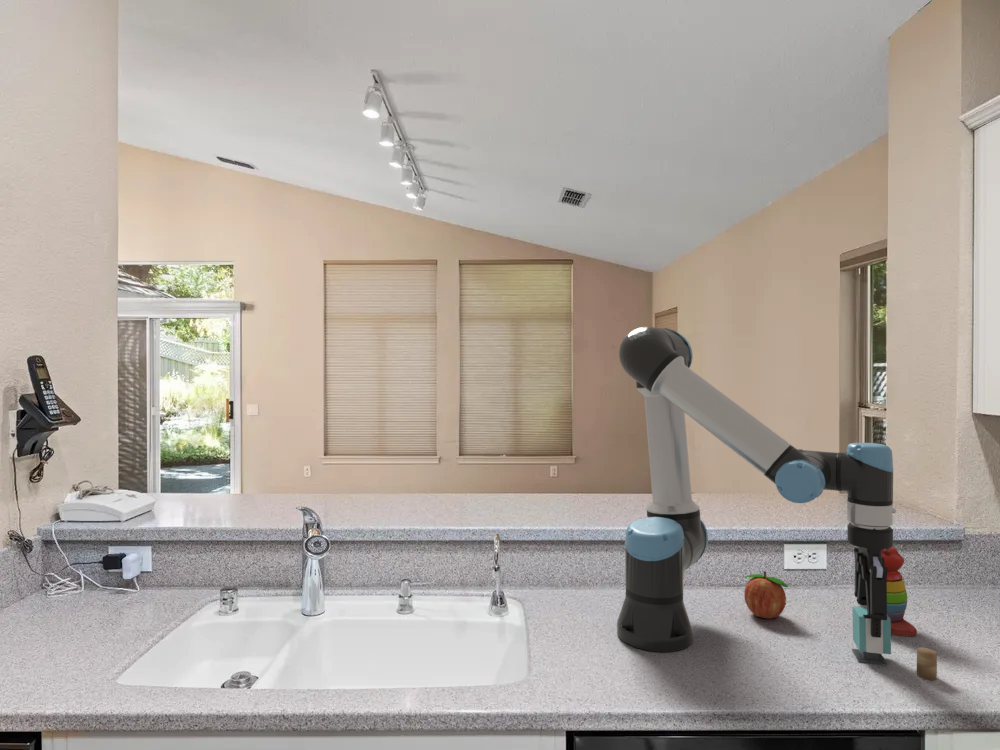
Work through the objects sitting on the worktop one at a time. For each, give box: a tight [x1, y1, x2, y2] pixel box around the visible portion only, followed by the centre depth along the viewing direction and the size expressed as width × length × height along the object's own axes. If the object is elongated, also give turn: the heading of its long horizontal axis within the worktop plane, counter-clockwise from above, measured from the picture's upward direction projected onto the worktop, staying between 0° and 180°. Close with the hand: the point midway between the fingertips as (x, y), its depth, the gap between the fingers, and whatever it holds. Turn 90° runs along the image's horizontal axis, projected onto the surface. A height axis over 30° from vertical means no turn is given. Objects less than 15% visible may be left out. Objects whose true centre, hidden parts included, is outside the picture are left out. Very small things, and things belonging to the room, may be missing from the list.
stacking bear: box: [857, 545, 918, 637], centre depth 135 cm, size 11×10×18 cm
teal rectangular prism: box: [851, 605, 892, 655], centre depth 120 cm, size 5×5×7 cm
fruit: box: [743, 570, 789, 619], centre depth 140 cm, size 9×10×10 cm
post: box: [851, 648, 888, 666], centre depth 120 cm, size 5×5×7 cm
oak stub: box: [916, 647, 938, 681], centre depth 113 cm, size 3×3×4 cm
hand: (870, 645), depth 120 cm, fingers closed on teal rectangular prism, 5 cm apart
